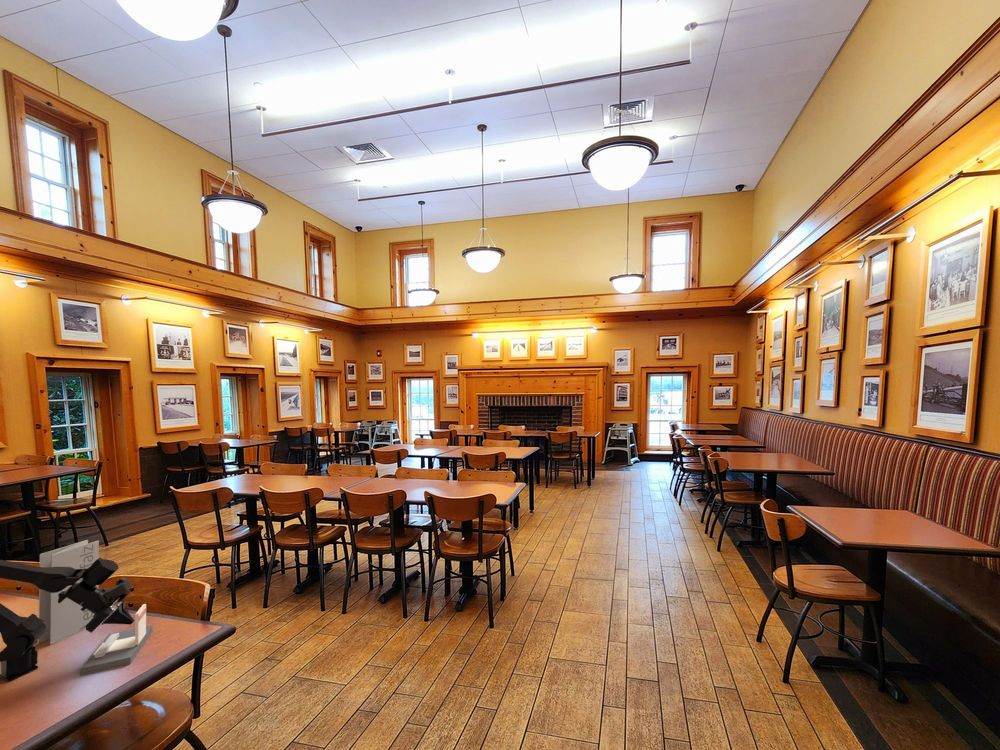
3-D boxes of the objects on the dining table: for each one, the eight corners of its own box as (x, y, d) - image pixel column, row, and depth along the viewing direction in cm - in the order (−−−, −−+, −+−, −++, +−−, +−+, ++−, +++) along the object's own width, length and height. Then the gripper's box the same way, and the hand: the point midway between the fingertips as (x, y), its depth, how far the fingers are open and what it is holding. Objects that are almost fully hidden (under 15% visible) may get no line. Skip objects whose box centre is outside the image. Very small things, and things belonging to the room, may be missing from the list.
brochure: (50, 644, 143) (51, 555, 144) (38, 643, 144) (39, 554, 145) (98, 622, 157) (98, 540, 158) (86, 620, 158) (87, 539, 159)
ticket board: (80, 675, 127) (80, 663, 127) (109, 639, 145) (109, 629, 145) (130, 663, 132) (130, 652, 132) (152, 630, 150) (152, 621, 150)
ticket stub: (135, 645, 137) (135, 614, 138) (142, 634, 144) (143, 604, 144) (138, 644, 138) (138, 613, 138) (146, 633, 144) (146, 603, 144)
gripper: (99, 586, 130) (144, 614, 134) (123, 564, 147) (162, 589, 151) (64, 619, 126) (112, 646, 131) (94, 592, 143) (135, 617, 148)
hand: (132, 622), depth 140 cm, fingers closed
